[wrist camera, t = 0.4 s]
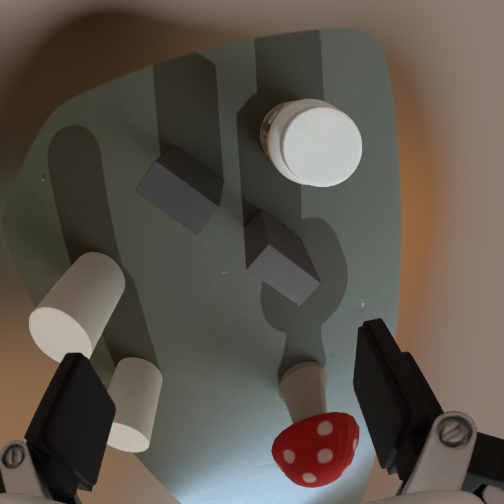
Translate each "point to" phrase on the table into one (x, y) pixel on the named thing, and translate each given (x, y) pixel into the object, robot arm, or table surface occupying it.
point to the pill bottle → (311, 142)
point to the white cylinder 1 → (78, 307)
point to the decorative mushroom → (313, 430)
